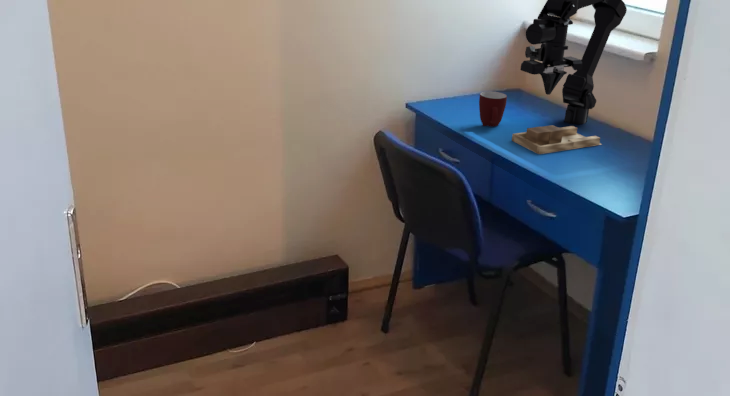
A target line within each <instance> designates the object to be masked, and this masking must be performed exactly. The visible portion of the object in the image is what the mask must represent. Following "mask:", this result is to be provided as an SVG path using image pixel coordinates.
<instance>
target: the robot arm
mask: <svg viewBox="0 0 730 396" xmlns="http://www.w3.org/2000/svg"><path fill="white" fill-rule="evenodd" d="M589 6H592V7H593V9H594V14H593V18H594V20H593V21H594V28H593V30H592V32H591V35H590V38H589V41H588V43H587V45H586V48H585V50H584V52H583V55H582V57H581V59H579V58H577V57H573V56H571V55H570V56H565V50H566V51H567V50H569V45H566V44H567V43H566V42H567V35H568V30H569V29H568V28H569V26H571V25H573V23H574V22H573V20H572V19H571V17H573V16H575V15H576V14H577V13H578V10H580V9H583V8H585V7H586V8H587V7H589ZM627 10H628V9H627V6H626V4H625V2H624V1H623V0H546V2H545V4H544V5H543V7H542V9H541V11H540V12H539V14H538V16H537V18H534V19H533V20H532V21H533V22H532V23H531V24H529V25H528V27H527V28H526V30H525V38H526V41H527V42H528V43H529V44H531V45H532V46H531V45H529V46H526V47H525V50H524V51H525V55H524V56H525V58H526V59H529V60H522V62H521V64H520V71H522V72H525V73H527V74H529V75H540V76H541V80H542V82H543V83H542V84H543V87H544V92H545V94H546V95H547V96H548V95H550V96H551V94H552V92H553V91H554V89H555V88H556V86H557V85H558V84H559V82H560V81H561V79H562V78H563V77H564V75H567V73H568V72H567V71H565V68H570V67H571V68H572V70H573V71H575V72H574V73H568V75H567V76H566V79H565V81H564V83H563V84H562V89H561V92H562V93H561V94H562V95H561V96H562V103H564V104H567V108H566V109H565V114H564V121H563V122H564V123H566V124H569V125H585V124H586V123H587V122H588V117H589V111H590V110H593V108H595V106H596V103H597V99H596V97H595V95H594V93H593V91H594V88H595V83H594V77H593V76H594V74H595V71H596V68H597V67H598V64H599V62H600V59H601V56H602V55H603V51H604V49H605V47H606V45H607V42H608V40H609V37H610V35H611V33H612V31H614V30H615V29H616V28H617V27H618V26H620V24H621V23H622V21H623V19H624V17H625V16H626V15H627ZM535 45H540V47H539V48H536V47H535Z"/></svg>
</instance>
